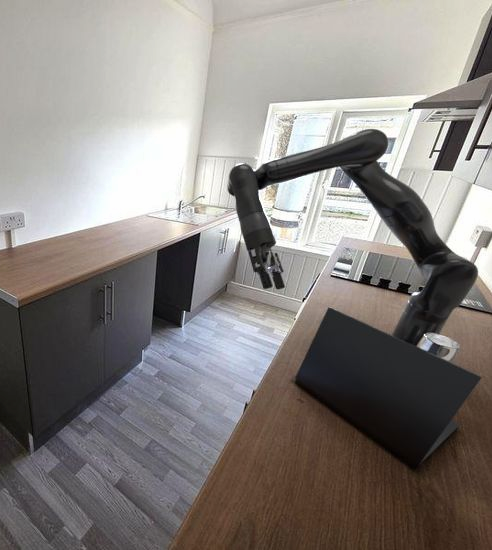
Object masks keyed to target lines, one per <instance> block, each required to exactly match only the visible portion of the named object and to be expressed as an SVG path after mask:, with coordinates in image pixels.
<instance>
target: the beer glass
mask: <svg viewBox="0 0 492 550" xmlns="http://www.w3.org/2000/svg"><path fill="white" fill-rule="evenodd" d="M417 347H419V348H421V349H423V350H426V351H428V352H430V353H432V354H434V355H436V356H439V357H441V358H443V359H445V360H447V361H450V362H452V363H453V361H454V359H455V357H456V355H457V353H458V351H459V349H460V347H461V345H460V344H459V343H458V342H457V341H456V340H454V339H452V338H451V337H448V336H446V335H443V334H440V333H439V334H436V333H425V334H424V336H423V337H422V338H421V340H420V341H419V343H418V344H417Z"/></svg>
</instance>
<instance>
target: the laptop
mask: <svg viewBox="0 0 492 550" xmlns="http://www.w3.org/2000/svg"><path fill="white" fill-rule="evenodd" d="M294 383H296V385H298V386H300V387H301V388H302V389H303V390H305V391H306V392H308V393H309V394H310V395H312V396H314V398H316V399H317V400H318V401H320V402H322V404H324V405H326V406H327V407H328V408H330V409H331V410H333V411H334V412H335V413H337V414H338V415H339V416H341V417H342V418H344V420H347V422H349V423H350V424H352V425H354V426H355V427H356V428H357V429H359V430H360V431H362V432H363V433H364V434H366V435H367V436H368V437H370V438H371V439H373V440H374V441H376V443H378V444H379V445H381V446H382V447H384V448H385V449H386V450H388V451H389V452H390V453H392V454H393V455H395V457H397V458H399V459H400V460H401V461H403V462H404V463H406V464H407V465H408V466H410V467H411V468H412V469H414V470H415V471H416V470H417V469H418V468H419V467H421V465H423V464H424V463H425V462H426V461H427V460H428V459H429V458H430V457H431V456H432V454H434V453H435V452H436V450H438V449H439V448H440V447H441V446H442V445H443V444H444V443H445V442H446V441H447V440H448V439H450V438H451V436H453V434H454V433H456V431H457V430H458V429H459V427H460V426H461V424H460V423H459V422H457V421H455V420H453V419H452V420H451V421H450V423H449V424H448V425H447V427H446V428H445V430H444V431H443V432H442V434H441V435H440V437H439V438H438V439H437V441H436V442H435V443H434V445H433V446H432V448H431V449H430V450H429V452H428V453H427V455H426V456H425V457H424V459H423V460H422V462H421V463H420V464H419V465H417V464H416V463H414V462H413V461H412V460H410V459H409V458H407V457H406V456H405V455H403V454H402V453H400V452H399V451H398V450H396V449H395V448H393V447H392V446H391V445H389V444H388V443H386V442H385V441H384V440H382V439H381V438H379V437H378V436H377V435H375V434H374V433H372V432H371V431H370V430H368V429H367V428H365V427H364V426H362V425H361V424H360V423H358V422H357V421H355V420H354V419H353V418H351V417H350V416H348V415H347V414H346V413H344V412H343V411H341V410H340V409H339V408H337V407H336V406H334V405H333V404H332V403H330V402H329V401H327V400H326V399H325V398H323V397H322V396H320V395H319V394H317V393H316V392H315V391H313V390H312V389H310V388H309V387H308V386H306V385H305V384H303V383H302V382H301V381H299V380H298V379H296V378H295V381H294Z"/></svg>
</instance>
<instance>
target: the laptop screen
mask: <svg viewBox="0 0 492 550" xmlns="http://www.w3.org/2000/svg"><path fill="white" fill-rule="evenodd" d="M294 378H295V380H296V379H298V380H299V381H301V382H302V383H303V384H305V385H306V386H308V387H309V388H310V389H312V390H313V391H315V392H316V393H317V394H319V395H320V396H322V397H323V398H325V399H326V400H327V401H329V402H330V403H332V404H333V405H334V406H336V407H337V408H339V409H340V410H341V411H343V412H344V413H346V414H347V415H348V416H350V417H351V418H353V419H354V420H355V421H357V422H358V423H360V424H361V425H362V426H364V427H365V428H367V429H368V430H370V431H371V432H372V433H374V434H375V435H377V436H378V437H379V438H381V439H382V440H384V441H385V442H386V443H388V444H389V445H391V446H392V447H393V448H395V449H396V450H398V451H399V452H400V453H402V454H403V455H405V456H406V457H407V458H409V459H410V460H412V461H413V462H414V463H416V464H417V465H419V464H420V463H421V462H422V460H423V459H424V457H425V456H426V455H427V453H428V452H429V450H430V449H431V448H432V446H433V445H434V443H435V442H436V441H437V439H438V438H439V437H440V435H441V434H442V432H443V431H444V430H445V428H446V427H447V425H448V424H449V423H450V421H451V420H453V419H454V417H455V416H456V414H457V413H458V411H459V410H460V409H461V407H463V405H464V403H465V402H466V400H467V399H468V398H469V397H470V395H471V394H472V392H473V391H474V390H475V388H476V387H477V385H478V384H479V382H480V381H481V380H482V379H483V376H482V375H480V374H477V373H476V372H474V371H471V370H469V369H467V368H466V367H462V366H460V365H458V364H456V363H455V362H453V361H452V362H450V361H447V360H445V359H443V358H441V357H439V356H436V355H434V354H432V353H430V352H428V351H426V350H423V349H421V348H419V347H417V346H415V345H412V344H410V343H408V342H406V341H404V340H401V339H399V338H397V337H395V336H393V335H392V334H391V333H388V332H386V331H384V330H382V329H379V328H377V327H375V326H373V325H370V324H368V323H366V322H364V321H362V320H360V319H357V318H355V317H354V316H351V315H349V314H347V313H344V312H342V311H340V310H337V309H335V308H334V307H331V306H328V307H327V309H326V311H325V314H324V316H323V318H322V320H321V322H320V323H319V326H318V328H317V331H316V332H315V335H314V336H313V339H312V341H311V343H310V346H308V350H307V351H306V353H305V355H304V358H303V360H302V362H301V364H300V366H299V368H298V371H297V372H296V375H295V377H294Z"/></svg>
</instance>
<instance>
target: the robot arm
mask: <svg viewBox="0 0 492 550" xmlns="http://www.w3.org/2000/svg"><path fill="white" fill-rule="evenodd" d="M388 147H389V138H388V136H387V135H386V133H385V132H383V131H382V130H380V129H376V128H365V129H361V130H359V131H357V132H354V133H353V134H351V135H348V136H346V137H344V138H343V139H340V140H339V141H336V142H333V143H330V144H327V145H323V146H320V147H317V148H312V149H309V150H304V151H300V152H297V153H293V154H287V155H284V156H281V157H277V158H274V159H270V160H267V161H264V162H263V163H261V165H260V166H259V167H258V168H257V169H254V168H253V167H252V166H251V165H250V164H248V163H244V162H240V163H237V164H236V165H234V166H233V167H232V168H231V170H230V171H229V173H228V178H227V183H226V190H227V192H228V194H229V195H230V196H232V197H234V198H235V212H236V215H237V220H238V222H239V227H240V232H241V235H242V238H243V241H244V244H245V248H246V251H247V252H248V256H249V260H250V263H251V267H252V270H253V271H252V272H253V273H256V274H257V275H258V276H259V280H260V282H261V286H262V289H264V290H268V289H271V288H273V285H274V288H275V289H276V290H281V289H285V287H286V285H285V282H284V279H283V273H284V268H283V266H282V262H281V260H280V256H279V255H278V254H279V253H277V252H273V251H272V247H274V246H275V245H277V240H276V237H275V234H274V231H273V228H272V226H271V223H270V220H269V218H268V216H267V213H266V211H265V208H264V204H263V202H262V199H261V195H260V191H262V190H264V189H266V188H268V187H271V186H276V185H280V184H284V183H288V182H291V181H295V180H298V179H301V178H305V177H307V176H310V175H313V174H317V173H319V172H323V171H326V170H331V169H335V168H339V169H340V170H341V171H342V172H343V173H344V174H345V175H346V176H347V177H348V178H349V179H350V180H351V181H352V182H353V183H354V184H355V186H357V189H359V190H360V191H361V193H362V194H363V196H364V197H365V198H366V200H367V201H368V203H369V204H370V206H372V208H373V210H374V211H375V212H376V214H377V215H378V216H379V218H380V220H381V221H382V222H383V223H384V225H385V226H386V227H387V229H388V230H389V231H390V232H391V233H392V234H393V236H395V238H396V239H397V240H398V241H399V242H400V243H401V244H402V245H403V246H404V247H405V248H406V249H407V251H408V253H409V255H410V256H411V258H412V260H413V261H414V263H415V265H416V267H417V269H418V271H419V272H420V274H421V276H422V277H423V278H424V279H425V280H426V283H425V284H424V286H423V288H422V290H421V291H415V292H413V293H411V294H410V297H409V299H408V301H407V302H406V305H405V306H404V309H403V311H402V313H401V315H400V317H399V319H398V321H397V323H396V325H395V327H394V329H393V331H392V333H391V335H393V336H395V337H397V338H399V339H401V340H404V341H406V342H408V343H410V344H412V345H415V346H417V344H418V343H419V341H420V340H421V338H422V337H423V336H424V334H425V333H436V334H440V333H441V332H442V330H443V328H444V326H445V325H446V323H447V321H448V319H449V317H450V316H451V314H452V312H453V311H454V310H455V309H457V308H458V307H459V306H460V305H462V303H463V302H464V300H466V298H467V296H468V295H469V293H470V291H471V290H472V289H473V287H474V285H475V283H476V282H477V279H478V277H479V268H478V267H477V265H476V264H475V263H473V262H472V261H470V260H468V259H467V258H465V257H463V256H461V255H460V254H459V255H458V254H457V253H455V251H453V250H452V249H451V248H450V247H449V246H448V245H447V244H446V243H445V241H443V239H442V238H441V237H440V236H439V234H438V232H437V230H436V226H435V222H434V218H433V215H432V212H431V211H430V209H429V207H428V206H427V204H426V203H425V202H424V200H423V199H422V198H421V196H420V195H419V194H418V192H416V191H415V190H414V188H411V187H410V186H409V185H408V184H406V183H405V182H403V181H401V180H399V179H397V178H395V177H394V176H392V175H391V174H389V173H388V172H387V171H386V169H384V168H383V166H382V165H380V163H379V162H378V161H379V160H380V159H381V158H382V157H383V156H384V155H385V154H386V152H387V151H388ZM270 275H271V276H270ZM271 278H272V279H271Z"/></svg>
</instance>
